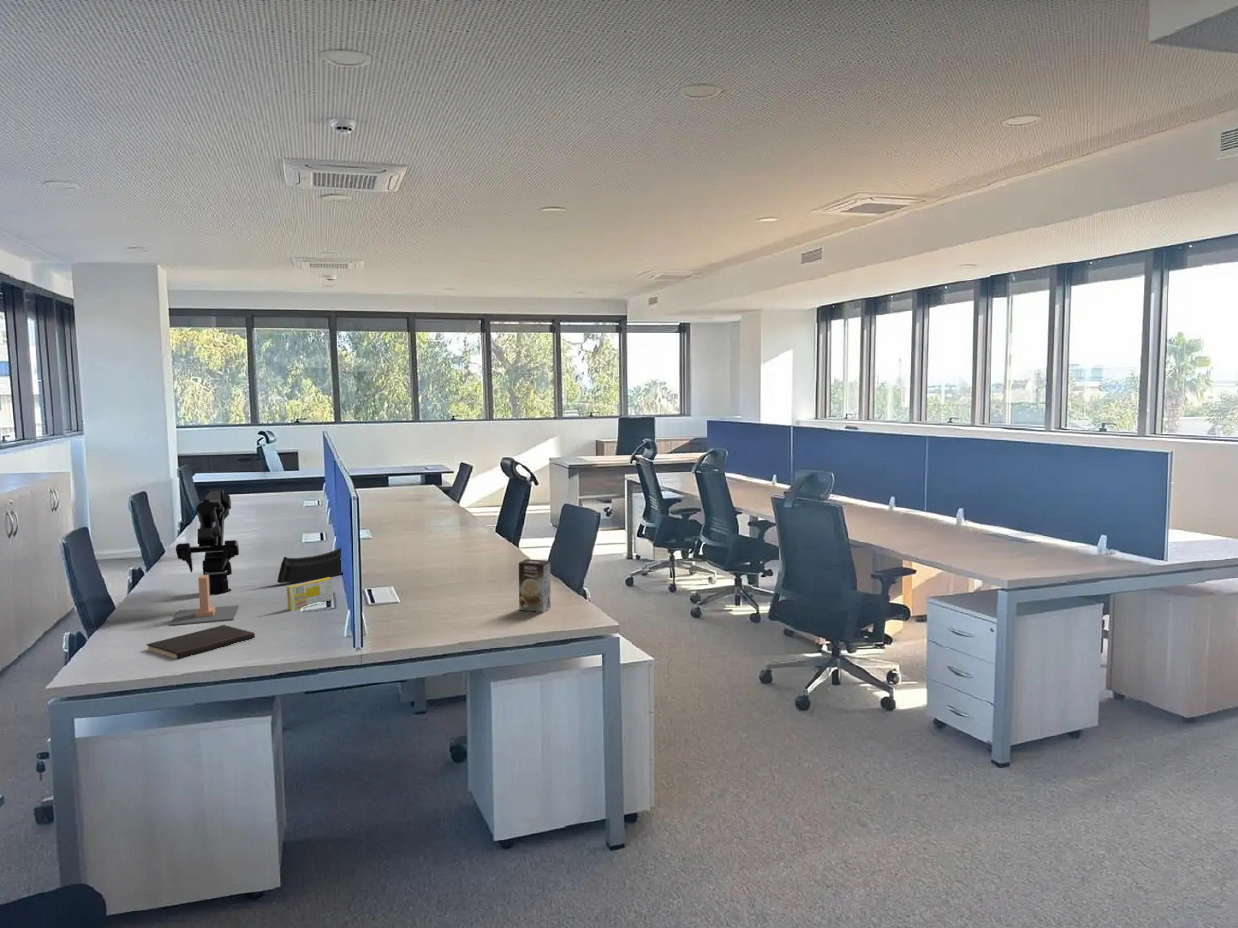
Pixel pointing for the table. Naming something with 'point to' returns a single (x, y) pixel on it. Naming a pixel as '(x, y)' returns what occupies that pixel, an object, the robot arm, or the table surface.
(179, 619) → the mat
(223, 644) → the hardcover book
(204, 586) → the pink block bookend
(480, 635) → the table surface
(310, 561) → the magazine
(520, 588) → the coffee box
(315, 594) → the candy box
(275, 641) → the table surface
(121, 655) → the table surface
